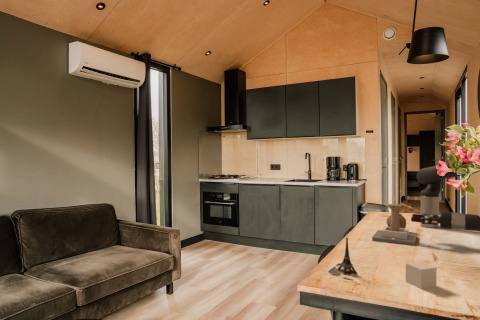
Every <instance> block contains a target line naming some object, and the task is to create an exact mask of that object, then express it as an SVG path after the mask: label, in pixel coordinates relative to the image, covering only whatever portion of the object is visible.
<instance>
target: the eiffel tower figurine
mask: <svg viewBox="0 0 480 320" xmlns="http://www.w3.org/2000/svg"><path fill="white" fill-rule="evenodd" d="M349 251H350V250H349V238H348V237H346V238H345V252H344V255H343V257H344V258H343V259H342V262H341V263H340V262H338V263H337V264H336V265H335V266H333V267H332V268H330V269H328V271H327V272H328V273H329V274H330V275H332V276H336V277H339V276H341V274H342V275H343V276H345V275H347V276H348V275H358V272H357V271H356V269H355V268H354V265H353V264H352V261H351V257H350V252H349ZM337 267H338V268H337ZM342 268H343V269H342ZM342 279H343V280H348V281H349V280H350V281H354V279H352V278H347V277H342Z"/></svg>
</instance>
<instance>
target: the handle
mask: <svg viewBox="0 0 480 320" xmlns="http://www.w3.org/2000/svg"><path fill="white" fill-rule="evenodd" d="M387 207H388V208H389V209H390V211H391V213H390V216H391V231H397V232H399V229H400V221H399V214H400V210H401V209H403V204H400V203H399V204H398V203H388V204H387Z"/></svg>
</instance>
